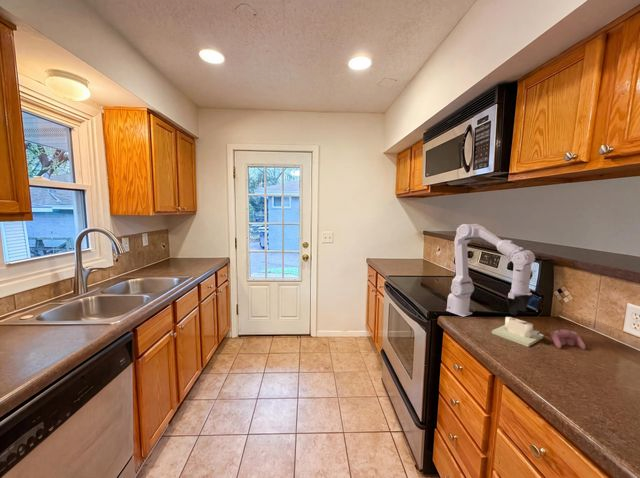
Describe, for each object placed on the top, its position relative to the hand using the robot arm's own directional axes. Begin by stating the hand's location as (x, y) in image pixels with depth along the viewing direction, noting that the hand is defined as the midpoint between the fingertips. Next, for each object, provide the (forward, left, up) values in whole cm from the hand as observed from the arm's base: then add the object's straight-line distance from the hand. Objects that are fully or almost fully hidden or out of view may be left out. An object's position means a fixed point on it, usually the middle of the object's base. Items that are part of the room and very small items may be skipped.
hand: (517, 312), depth 114 cm
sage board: (+1, -1, -9) cm, 9 cm away
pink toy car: (+15, +6, -10) cm, 19 cm away
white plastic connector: (+1, -1, -8) cm, 8 cm away
